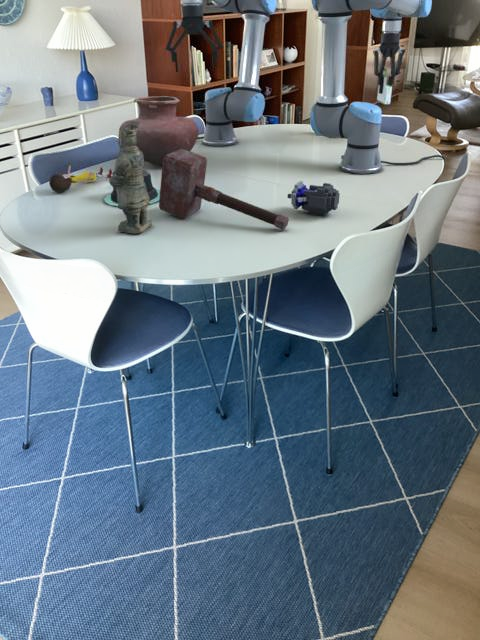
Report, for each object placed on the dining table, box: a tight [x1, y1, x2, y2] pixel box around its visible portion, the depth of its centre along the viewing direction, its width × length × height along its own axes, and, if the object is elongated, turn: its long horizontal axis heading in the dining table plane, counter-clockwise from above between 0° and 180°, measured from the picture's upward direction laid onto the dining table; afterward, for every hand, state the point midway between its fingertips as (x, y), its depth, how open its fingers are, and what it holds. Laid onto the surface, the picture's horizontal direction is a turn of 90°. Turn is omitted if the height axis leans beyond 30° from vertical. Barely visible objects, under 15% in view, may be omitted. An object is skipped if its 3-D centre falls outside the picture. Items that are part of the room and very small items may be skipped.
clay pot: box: [118, 95, 200, 166], centre depth 218 cm, size 30×30×25 cm
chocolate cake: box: [103, 168, 160, 207], centre depth 186 cm, size 15×19×20 cm
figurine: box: [48, 164, 113, 193], centre depth 199 cm, size 13×8×25 cm
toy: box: [287, 180, 341, 216], centre depth 168 cm, size 9×9×15 cm
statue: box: [108, 121, 153, 235], centre depth 154 cm, size 11×9×30 cm
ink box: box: [376, 67, 393, 105], centre depth 239 cm, size 3×10×14 cm, turn 5°
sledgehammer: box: [158, 149, 290, 231], centre depth 163 cm, size 17×10×40 cm
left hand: (195, 71), depth 204 cm, fingers open, 13 cm apart
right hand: (384, 92), depth 241 cm, fingers closed on ink box, 3 cm apart
